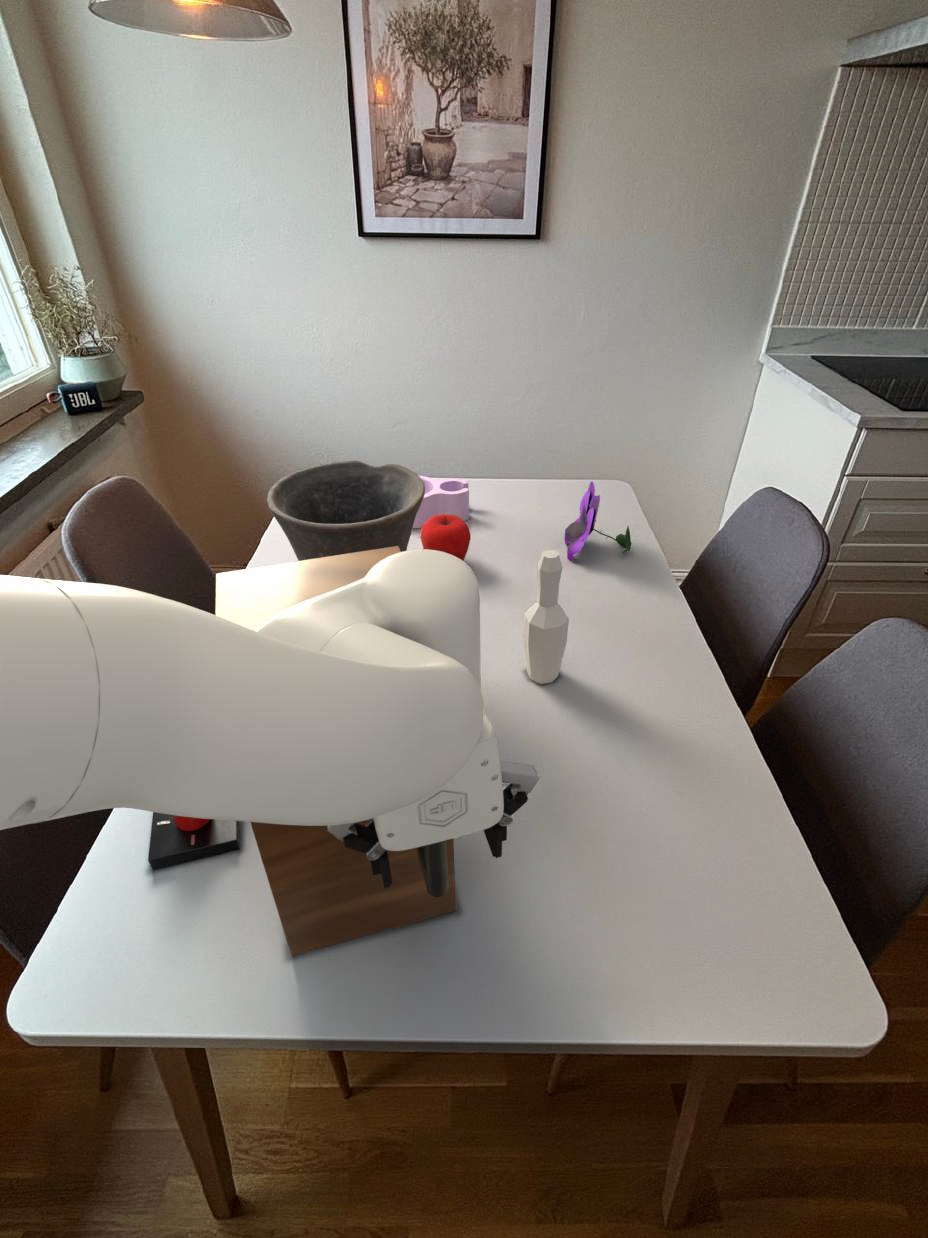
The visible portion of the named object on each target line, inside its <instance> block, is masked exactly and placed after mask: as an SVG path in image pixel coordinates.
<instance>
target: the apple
mask: <svg viewBox="0 0 928 1238" xmlns="http://www.w3.org/2000/svg"><path fill="white" fill-rule="evenodd" d="M471 537H472V535H471V531H470V527H469V525H468V524H467V522H466V520H465V521H463V520H462V519H461V518H459V517H458V516H455V515H447V514H442V515H436V516H433V517H431V518H430V519H429V520H428V521H427V522H425V523H424V524H423V526H422V527H421V530H420V537H419V539H420V541H421V544H422V549H426V550H437V551H441V552H445V553H448V554H451V555H453V556H455V557H457V558H459V559H461V560H462V561H464V560H465V558H466V556H467V553H468V551H469V547H470V542H471ZM464 562H465V561H464Z"/></svg>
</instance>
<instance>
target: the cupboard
mask: <svg viewBox="0 0 928 1238" xmlns="http://www.w3.org/2000/svg"><path fill="white" fill-rule="evenodd" d="M400 552H401V551H400V548H399V546H394V547H387V548H381V549H374V550H368V551H361V552H355V553H348V554H341V555H335V556H328V557H322V558H315V559H309V560H302V561H298V560H296V561H290V562H284V563H277V564H270V565H263V566H257V567H250V568H243V569H236V570H231V571H223V572H218V573H215V594H214V595H215V599H214V601H215V602H214V603H215V604H214V606H215V607H214V615H216V616H218V617H221V618H223V619H226V620H228V621H231V622H233V623H236V624H238V625H241V626H243V627H246V628H248V629H251V630H254V631H256V630H257V629H258V628H259V627H260V626H261V625H262V624H263V623H265V622H266V621H267V620H268V619H269V618H271V617H272V616H274V615H275V614H277V613H279V612H281V611H282V610H284V609H286V608H288V607H290V606H293V605H295V604H297V603H300V602H302V601H305V600H308V599H310V598H313V597H316V596H319V595H322V594H324V593H327V592H330V591H332V590H335V589H338V588H340V587H343V586H346V585H348V584H351V583H353V582H355V581H358V580H360V579H362V578H364V577H365V576H366V575H367V573H368V572H369V570H370V569H371V568H372V567H373V566H374V565H376V564H377V563H378V562H380V561H381V560H383V559H385V558H387V557H388V556H391V555H393V554H396V553H400Z"/></svg>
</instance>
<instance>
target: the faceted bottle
mask: <svg viewBox="0 0 928 1238" xmlns="http://www.w3.org/2000/svg"><path fill="white" fill-rule="evenodd" d="M536 571H537V572H536V573H537V593H536V602H535V603H534V604H532V606H530V607H529V608H528V610H526V611H525V612H524V613H523V633H522V637H523V645H524V654H525V663H526V671H527V674H528V677H529V679H530V680H531V681H533V682H535V683H537V684H539V685H543V684H544V685H545V684H551V683H553V682H554V681H555V680H556V679H557V678H558V677H559V675H560V670H561V666H562V662H563V658H564V654H565V650H566V646H567V642H568V632H569V622H570V621H569V620H570V618H569V616H568V615H567V613H566V612H565V610H564V609H563V608H562V606H561V605H560V604H559V590H560V583H561V577H562V573H563V564H562V560H561V556H560V554H559V552H558V551H557V550H554V549H547V550H544V551H543V552H541V554H540V556H539V559H538V562H537V564H536Z"/></svg>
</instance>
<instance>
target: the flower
mask: <svg viewBox="0 0 928 1238" xmlns="http://www.w3.org/2000/svg"><path fill="white" fill-rule="evenodd" d="M595 492H596V487H595V482H594V481H593V480H591V481H590V483H589V485H588V489H587V491H586V492H585V493H584V494H583V496H582V498H581V502H580V504H579V517H578V518H577V519H575V520H574V521H573V522H571V523H570V524H569V525H568V526H567V527H566V528H565V529H564V545H567V550H566V558H567V560H568V561H569V562H571V563H573V562H574V560H575V559H574V555H577V554H579V553H580V552H581V550H582V549H583V547H584V546H585V541H588V539H589V536H590V535H591V534H592V533H593V532H594V531H595V532H596V533H598V534H600V535H601V536H605V537H606V538H605V540H606V539H608V538H609V539H611V540H612V539H613V540H614V541H615V542H616V543H617V544H618V545H619V546H620V547H621V548H623V549H624V550H623V551H622V554H624V553H626V552H628V553H630V552H631V547H632V539H631V532H630V527H629V526H627V527H626V530H625V533H619V534H617V535H616V536H615V538H614V537H612V536H610V535H608V534H605V533H603V532H602V530H600V531H599V530H597V529H595V526H596V522H597V516H598V512H599V508H600V502H601V496H600V495H595Z"/></svg>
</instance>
